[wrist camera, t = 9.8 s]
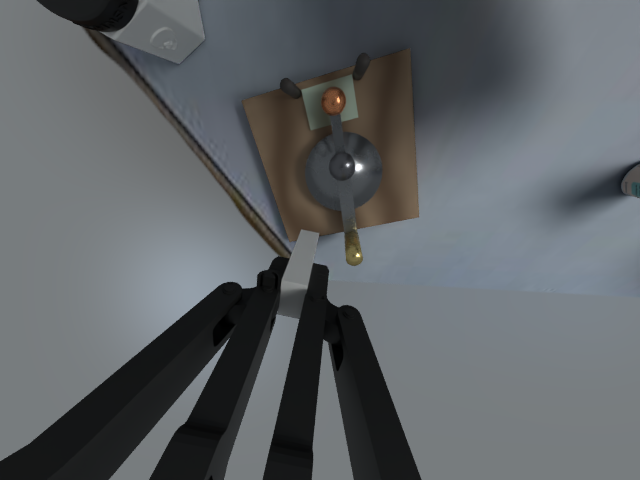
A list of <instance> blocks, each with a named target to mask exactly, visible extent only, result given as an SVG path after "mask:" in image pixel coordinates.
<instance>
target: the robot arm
mask: <svg viewBox="0 0 640 480" xmlns="http://www.w3.org/2000/svg"><path fill="white" fill-rule="evenodd" d="M318 237H319V233H316V232H312V231H307V230H302V229H301V231H300V234H299V237H298V239H297V242H296V244H295V247H294V250H293V252H292V255H291V257H290V259H289V258H284V257H279V256H278V257H277V258H275V259H274V260H273V261H272V263H271V265H270V267H269V269H268V270H265V271H262V272H260V273H259V274H258V275H257V287H254V288H246V289H242V287H241V286H240V285H239V284H238V283H235V282H227V283H223V284H221V285H220V286H218V287H217V288H216V289H215V290H214V291H212V292H211V293H210V294H209V295H207V296H206V297H205V298H204V299H203V300H201V301H200V302H199V303H198V304H197V305H196V306H194V307H193V308H192V309H191V310H190V311H188V312H187V313H186V314H185V315H184V316H182V317H181V318H180V319H179V320H178V321H176V322H175V323H174V324H173V325H172V326H170V327H169V328H168V329H167V330H166V331H164V332H163V333H162V334H161V335H160V336H158V337H157V338H156V339H155V340H153V341H152V342H151V343H150V344H149V345H147V346H146V347H145V348H144V349H143V350H141V352H139V353H138V354H137V355H135V356H134V357H133V358H132V359H131V360H129V361H128V362H127V363H126V364H125V365H123V366H122V367H121V368H120V369H119V370H117V371H116V372H115V373H114V374H113V375H111V376H110V377H109V378H108V379H107V380H105V381H104V382H103V383H102V384H101V385H99V386H98V387H97V388H96V389H95V390H93V391H92V392H91V393H90V394H89V395H87V396H86V397H85V398H84V399H82V400H81V401H80V402H79V403H78V404H76V405H75V406H74V407H73V408H72V409H70V410H69V411H68V412H67V413H66V414H64V415H63V416H62V417H61V418H60V419H58V420H57V421H56V422H55V423H54V424H53V425H51V426H50V427H49V428H48V429H46V430H45V431H44V432H43V433H42V434H40V435H39V436H38V437H37V438H36V439H34V440H33V441H32V442H31V443H30V444H28V445H27V446H25V447H23V448H22V449H20V450H18V451H17V452H15V453H13V454H12V455H10V456H8V457H7V458H5V459H3V460H2V461H0V480H109V479H110V477H111V476H112V475H113V474H114V473H115V472H116V471H117V469H118V468H119V467H120V466H121V464H123V462H124V461H125V460H126V459H127V458H128V456H129V455H130V454H131V453H132V451H134V449H135V448H136V447H137V446H138V445H139V444H140V442H141V441H142V440H143V439H144V438H145V436H146V435H147V434H148V433H149V432H150V431H151V429H152V428H153V427H154V426H155V425H156V424H157V422H158V421H159V420H160V419H161V418H162V417H163V415H164V414H165V413H166V412H167V411H168V409H169V408H170V407H171V406H172V405H173V404H174V402H175V401H176V400H177V399H178V398H179V396H180V395H181V394H182V393H183V392H184V391H185V389H186V388H187V387H188V386H189V385H190V384H191V382H192V381H193V380H194V379H195V378H196V376H197V375H198V374H199V373H200V372H201V371H202V369H203V368H204V367H205V366H206V365H207V364H208V362H209V361H210V360H211V359H212V358H213V356H214V355H215V354H216V353H217V352H218V351H219V350H220V348H221V347H222V346H223V345H224V344H225V342H226V341H227V340H228V339H229V338H230V339H229V341H228V343H227V345H226V347H225V349H224V350H223V352H222V354H221V356H220V358H219V360H218V362H217V364H216V366H215V368H214V370H213V372H212V374H211V376H210V378H209V379H208V381H207V383H206V385H205V387H204V389H203V391H202V393H201V395H200V397H199V399H198V401H197V403H196V405H195V407H194V408H193V410H192V412H191V414H190V416H189V418H188V420H187V421H186V422H185V424H183V425H182V426H180V427H179V428H178V430H177V431H176V432H175V433H174V435H173V437H172V438H171V440H170V442H169V444H168V446H167V447H166V449H165V451H164V453H163V455H162V457H161V459H160V460H159V462H158V464H157V466H156V468H155V470H154V472H153V473H152V475H151V477H150V479H149V480H224V477H225V473H226V467H227V464H228V460H229V457H230V454H231V451H232V448H233V445H234V442H235V439H236V436H237V433H238V431H239V427H240V425H241V422H242V419H243V416H244V412H245V410H246V407H247V404H248V401H249V398H250V395H251V392H252V389H253V386H254V383H255V380H256V377H257V374H258V371H259V368H260V365H261V362H262V359H263V356H264V353H265V350H266V347H267V344H268V341H269V338H270V335H271V333H272V330H273V326H274V324H275V319H276V314H279V315H283V316H288V317H293V318H298V319H299V324H298V328H297V333H296V337H295V342H294V346H293V350H292V355H291V359H290V364H289V368H288V372H287V377H286V381H285V385H284V390H283V394H282V399H281V403H280V407H279V412H278V416H277V421H276V425H275V430H274V434H273V438H272V442H271V446H270V450H269V454H268V458H267V463H266V467H265V472H264V476H263V480H312V468H313V450H312V446H313V436H314V426H315V415H316V405H317V396H318V385H319V375H320V365H321V356H322V344H323V339H324V340H325V341H327V342H328V345H329V350H330V355H331V360H332V366H333V371H334V377H335V382H336V387H337V392H338V398H339V403H340V408H341V414H342V418H343V424H344V430H345V435H346V440H347V446H348V451H349V456H350V462H351V467H352V472H353V477H354V480H421V477H420V475H419V472H418V469H417V466H416V464H415V461H414V458H413V456H412V453H411V450H410V447H409V445H408V442H407V439H406V437H405V434H404V431H403V429H402V426H401V423H400V420H399V418H398V415H397V412H396V409H395V407H394V404H393V401H392V399H391V396H390V393H389V390H388V388H387V385H386V382H385V380H384V377H383V374H382V371H381V369H380V366H379V363H378V361H377V358H376V355H375V352H374V350H373V347H372V344H371V342H370V339H369V336H368V333H367V331H366V328H365V325H364V323H363V320H362V317H361V315H360V313H359V311H358V310H357V309H356V308H354V307H352V306H349V305H343V306H341V307H337V306H335V305H333V304H331V303H330V302H329V301H328V299H327V285H328V275H329V270H328V268H327V266H325V265H320V264H315V263H313V262H314V257H315V252H316V247H317V242H318ZM277 311H278V313H277Z"/></svg>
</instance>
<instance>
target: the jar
mask: <svg viewBox="0 0 640 480" xmlns="http://www.w3.org/2000/svg"><path fill="white" fill-rule="evenodd" d="M37 1H38V2H39V3H40V4H42V5H43V6H44V7H46V8H47V9H48V10H50V11H51V12H53V13H55V14H56V15H58V16H60V17H62V18H65V19H67V20H70V21H72V22H73V23H75V24H77V25H80V26H82V27H85V28H88V29H92V30H96V31H99V32H101V33H103V34H104V35H106V36H108V37H109V38H111V39H113V40H115V41H118V42H120V43H123V44H126V45H128V46H131V47H134V48H136V49H139V50H142V51H144V52H147V53H150V54H152V55H155V56H158V57H161V58H163V59H166V60H169V61H171V62H174V63H177V64H180V63H181V62H182V61H183V60H184V59H185V58H187V57H188V56H189V55H190V54H191V53H192V52H193V51H194V50H195V49H196V48H197V47H198V46H199V45H200V44H201V43H202V42H203V41H204V40H205V34H204V29H203V24H202V19H201V13H200V8H199V3H198V0H37Z"/></svg>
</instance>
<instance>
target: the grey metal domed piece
mask: <svg viewBox="0 0 640 480" xmlns="http://www.w3.org/2000/svg"><path fill="white" fill-rule="evenodd" d="M345 105H346V96H345V94H344V92H343V91H342V90H341V89H340V88H338V87H329V88H328V89H326V90H325V91H324V93H323V95H322V97H321V106H322V109H323V110H324V112H325V113H326V114H328V115H330V119H331V126H332V133H333V134H331V135H328V136H326V137H325V138H323V139H322V140H321V141H319V142H318V143H317V144H316V145H315V147H314V148H313V149H312V151H311V152H310V154H309V156H308V159H307V162H306V167H305V179H306V183H307V187H308V189H309V191H310V193H311V194H312V196H313V197H314V198H315V199H316V200H317V201H318V202H319V203H320V204H322V205H323V206H325V207H327V208H329V209H332V210H337V211H341V212H342V219H343V226H344V233H345V235H344V236H345V251H346V261H347V263H348V264H349V265H352V266H356V265H359V264H360V263H361V262H362V260H363V257H362V252H361V247H360V241H359V236H358V233H357V225H356V217H355V209H356V208H358V207H360V206H362V205H364V204H365V203H366V202H368V201H369V200H370V199H371V198H372V197H373V196H374V194H375V193H376V191H377V189H378V188H379V185H380V182H381V179H382V162H381V158H380V155H379V153H378V151H377V149H376V148H375V146H374V145H373V144H372V143H371V142H370V141H369V140H368V139H366V138H365V137H363V136H361V135H359V134H356V133H353V132H343V130H342V122H341V114H340V113H341V112H342V111H343V110H344V108H345Z"/></svg>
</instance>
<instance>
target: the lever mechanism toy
mask: <svg viewBox="0 0 640 480" xmlns="http://www.w3.org/2000/svg"><path fill="white" fill-rule="evenodd" d="M329 87H338V88H340V89H341V90H342V91H343V92H344V94H345V96H346V105H345V108H344V110H343V111H342V112H341V113H340V114H341V122H342V130H343V132H353V133H356V134H359V135H361V136H363V137H365V138H366V139H368V140H369V141H370V142H371V143H372V144H373V145H374V146H375V148H376V149H377V151H378V153H379V155H380V158H381V162H382V179H381V182H380V185H379V188H378V189H377V191H376V193H375V194H374V196H373V197H372V198H371V199H370V200H369V201H368V202H366V203H365V204H364V205H362V206H360V207H358V208H356V209H355V217H356V225H357V229H360V228H365V227H370V226H375V225H381V224H386V223H391V222H396V221H402V220H407V219H412V218H417V217H419V204H418V186H417V167H416V148H415V129H414V111H413V92H412V73H411V54H410V48H409V49H405V50H402V51H399V52H396V53H393V54H389V55H386V56H383V57H380V58H377V59H373V60H370V57H369V55H368V54H366V53H362V54H360V55H359V57H358V58H357V62H356V65H354V66H351V67H348V68H344V69H341V70H338V71H335V72H332V73H328V74H325V75H322V76H319V77H316V78H312V79H309V80H306V81H303V82H300V83H296V84H294V83H293V82H292V81H291V80H290V79H288V78H284V79H282V80H281V83H280V89H277V90H274V91H271V92H267V93H264V94H261V95H258V96H255V97H251V98H248V99H245V100H242V104H243V107H244V110H245V112H246V115H247V118H248V121H249V124H250V127H251V130H252V133H253V136H254V139H255V142H256V145H257V148H258V151H259V154H260V156H261V159H262V162H263V165H264V168H265V171H266V174H267V177H268V180H269V183H270V186H271V189H272V192H273V195H274V198H275V201H276V203H277V206H278V209H279V212H280V215H281V218H282V221H283V224H284V227H285V230H286V233H287V236H288V239H289V242H292V241H297V239H298V237H299V234H300V231H301V229H302V230H307V231H312V232H316V233H319V236H323V235H328V234H333V233H339V232H344V226H343V219H342V212H341V211H337V210H332V209H329V208H327V207H325V206H323V205H322V204H320V203H319V202H318V201H317V200H316V199H315V198H314V197H313V196H312V194H311V193H310V191H309V189H308V187H307V183H306V179H305V167H306V162H307V159H308V156H309V154H310V152H311V151H312V149H313V148H314V147H315V145H316V144H317V143H318V142H319V141H321V140H322V139H323V138H325V137H326V136H328V135H331V134H333V133H332V126H331V119H330V115H328V114H326V113H325V112H324V110H323V109H322V106H321V97H322V95H323V93H324V91H325V90H326V89H328V88H329Z"/></svg>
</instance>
